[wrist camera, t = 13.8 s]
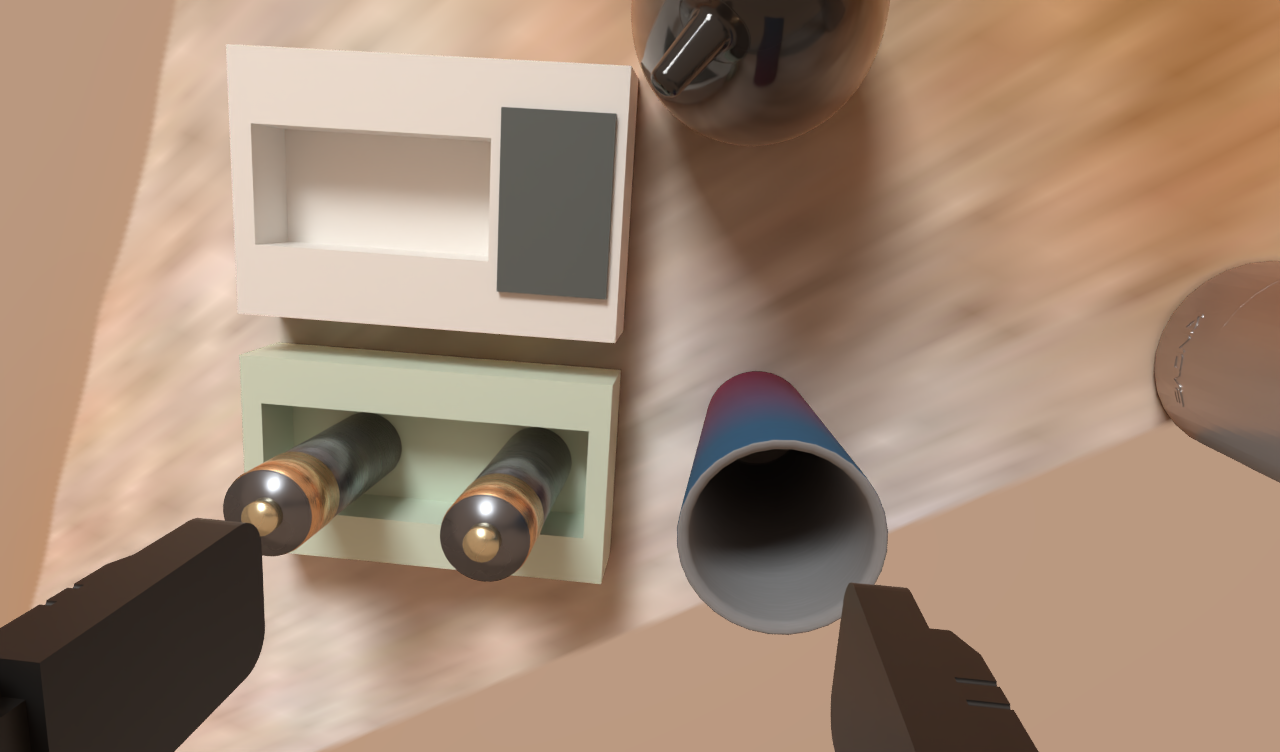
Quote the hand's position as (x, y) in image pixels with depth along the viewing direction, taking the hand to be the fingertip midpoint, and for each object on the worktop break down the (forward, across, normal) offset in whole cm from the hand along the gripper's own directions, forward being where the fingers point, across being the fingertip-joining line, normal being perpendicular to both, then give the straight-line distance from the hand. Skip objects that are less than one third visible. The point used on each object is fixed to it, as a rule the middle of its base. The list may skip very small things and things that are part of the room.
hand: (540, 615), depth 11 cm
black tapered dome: (+30, -3, -13) cm, 33 cm away
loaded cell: (+30, +6, +8) cm, 31 cm away
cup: (+30, -5, +5) cm, 31 cm away
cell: (+30, +15, +8) cm, 34 cm away
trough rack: (+30, +11, +8) cm, 33 cm away
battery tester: (+30, +11, -5) cm, 32 cm away
